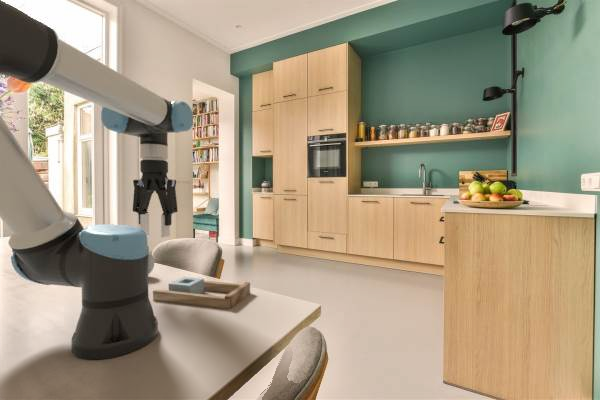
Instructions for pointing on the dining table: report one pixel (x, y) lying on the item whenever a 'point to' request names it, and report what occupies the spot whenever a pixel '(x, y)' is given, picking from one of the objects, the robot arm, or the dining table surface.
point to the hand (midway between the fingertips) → (155, 235)
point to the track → (228, 301)
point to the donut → (150, 263)
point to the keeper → (188, 285)
